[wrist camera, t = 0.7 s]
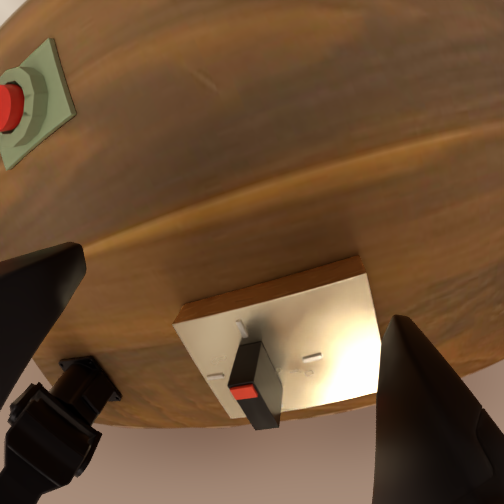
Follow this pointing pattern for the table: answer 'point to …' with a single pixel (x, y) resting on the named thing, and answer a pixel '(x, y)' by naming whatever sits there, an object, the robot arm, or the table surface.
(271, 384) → the stove knob
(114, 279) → the table surface
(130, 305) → the table surface
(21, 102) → the button
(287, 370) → the panel
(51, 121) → the switch block
